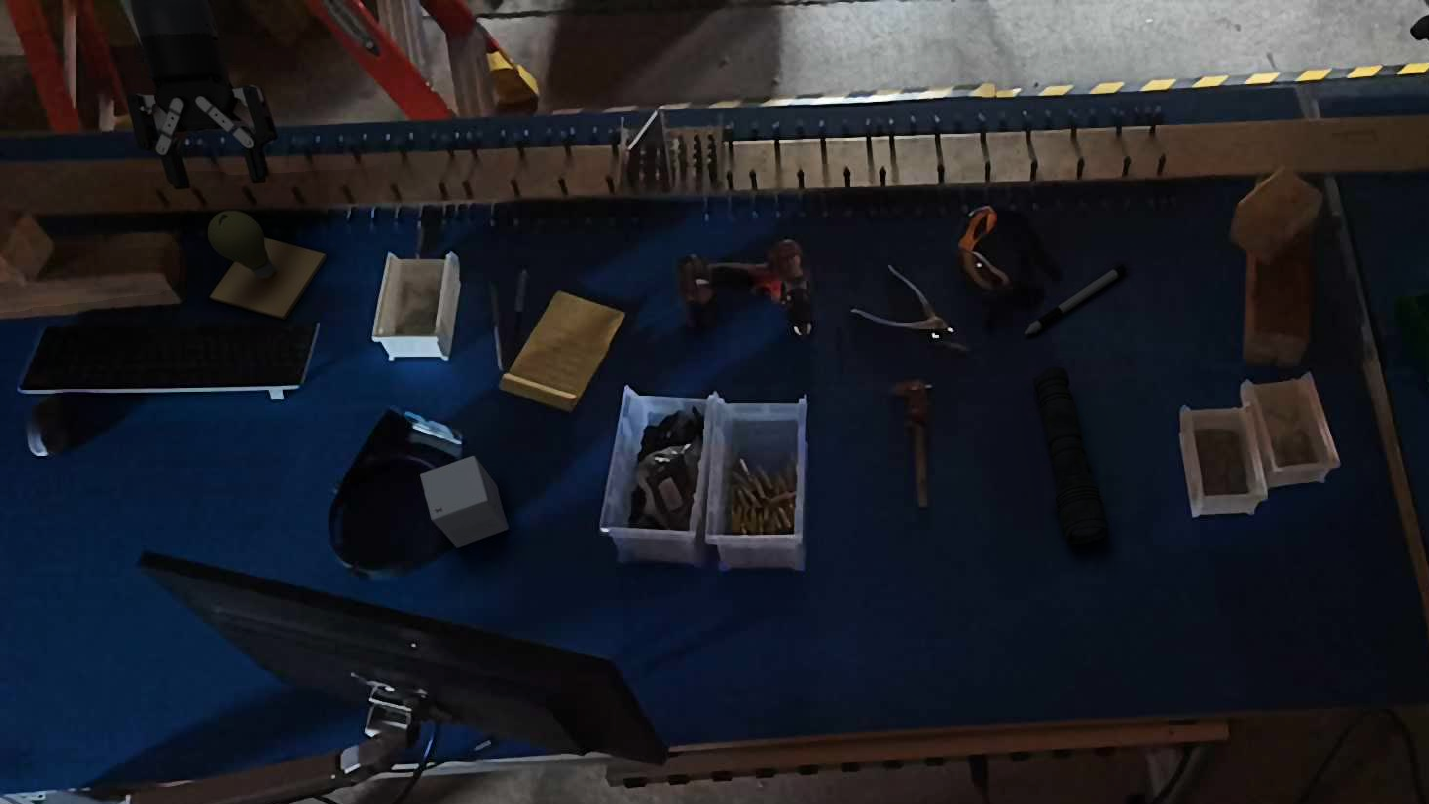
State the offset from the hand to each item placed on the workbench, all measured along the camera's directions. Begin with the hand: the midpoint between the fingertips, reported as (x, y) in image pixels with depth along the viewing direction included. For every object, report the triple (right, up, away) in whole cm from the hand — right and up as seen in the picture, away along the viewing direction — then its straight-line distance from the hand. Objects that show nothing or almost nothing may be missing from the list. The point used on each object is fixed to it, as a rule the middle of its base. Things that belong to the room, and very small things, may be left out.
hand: (221, 185), depth 130 cm
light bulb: (0, -8, +8) cm, 12 cm away
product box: (+31, -38, -4) cm, 50 cm away
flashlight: (+97, -32, 0) cm, 103 cm away
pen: (+100, -12, +9) cm, 101 cm away
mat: (+1, -9, +9) cm, 12 cm away
